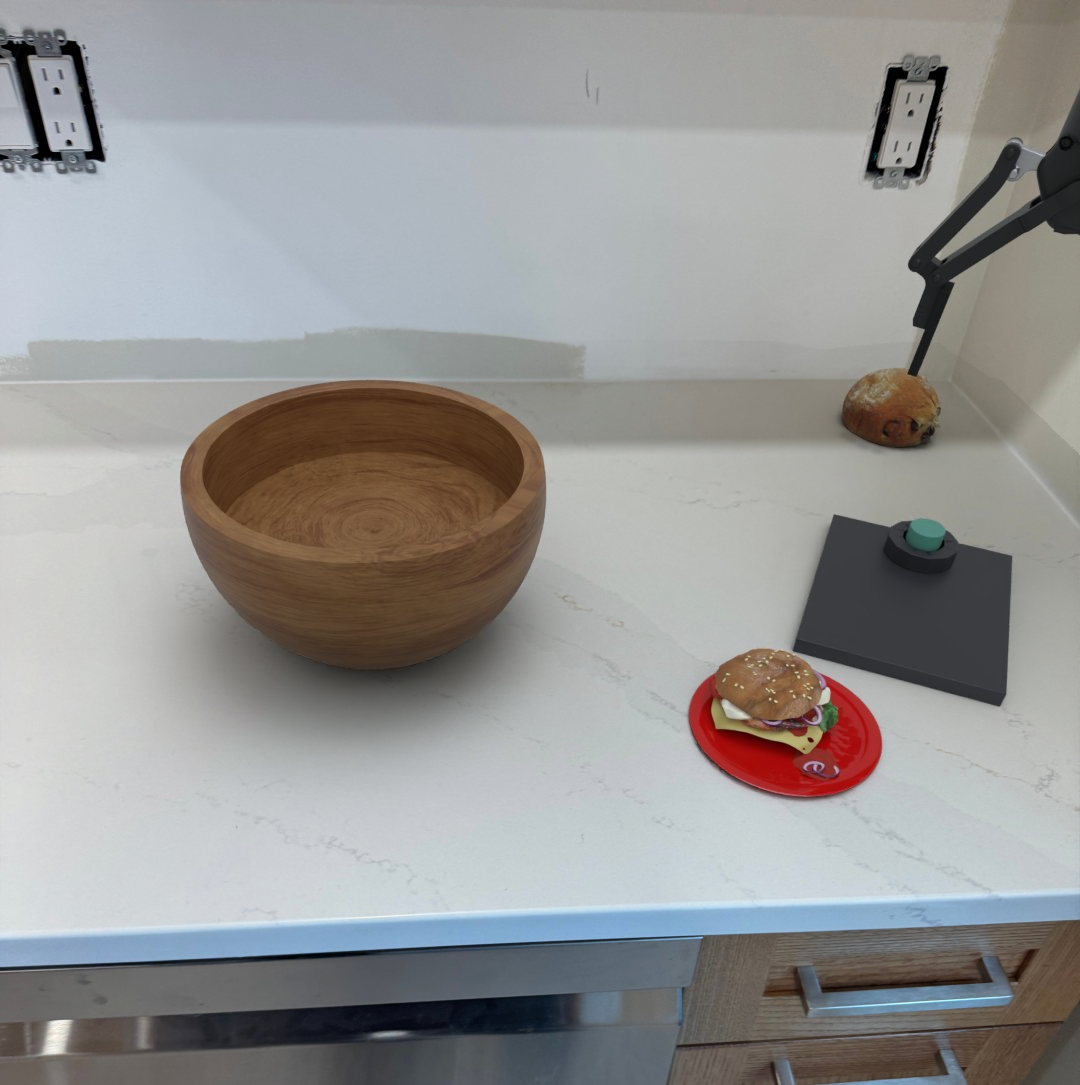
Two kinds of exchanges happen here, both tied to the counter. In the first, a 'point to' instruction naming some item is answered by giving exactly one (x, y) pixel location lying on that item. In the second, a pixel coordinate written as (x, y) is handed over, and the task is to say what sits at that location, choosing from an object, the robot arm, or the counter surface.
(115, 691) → the counter surface
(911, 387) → the bread roll
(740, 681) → the hamburger
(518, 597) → the counter surface
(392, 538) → the bowl
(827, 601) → the scale
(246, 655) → the counter surface
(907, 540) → the button
